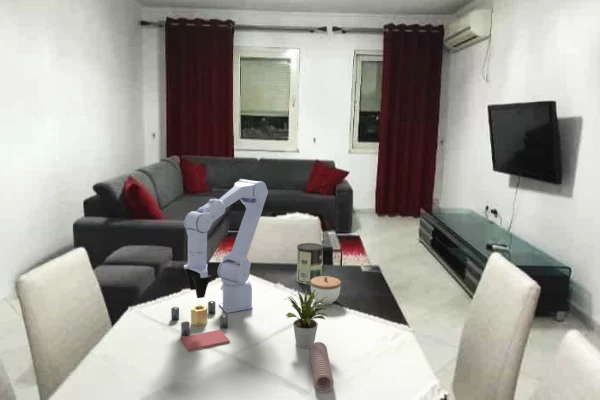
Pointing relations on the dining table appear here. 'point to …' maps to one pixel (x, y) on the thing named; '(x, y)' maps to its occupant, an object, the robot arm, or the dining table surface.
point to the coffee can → (309, 262)
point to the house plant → (306, 319)
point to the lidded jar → (325, 288)
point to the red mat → (204, 340)
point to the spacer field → (186, 325)
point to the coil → (321, 367)
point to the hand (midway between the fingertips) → (197, 293)
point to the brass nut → (199, 315)
